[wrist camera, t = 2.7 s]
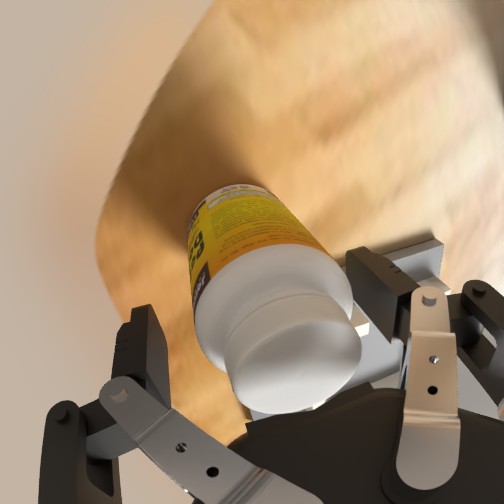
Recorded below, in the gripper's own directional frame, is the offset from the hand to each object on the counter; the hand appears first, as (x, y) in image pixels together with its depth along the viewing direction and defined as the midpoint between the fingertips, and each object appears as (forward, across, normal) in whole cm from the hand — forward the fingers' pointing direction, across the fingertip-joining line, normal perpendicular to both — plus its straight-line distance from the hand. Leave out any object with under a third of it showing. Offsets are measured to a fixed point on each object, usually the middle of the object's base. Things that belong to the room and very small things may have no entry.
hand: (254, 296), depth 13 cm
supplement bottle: (+6, 0, 0) cm, 6 cm away
